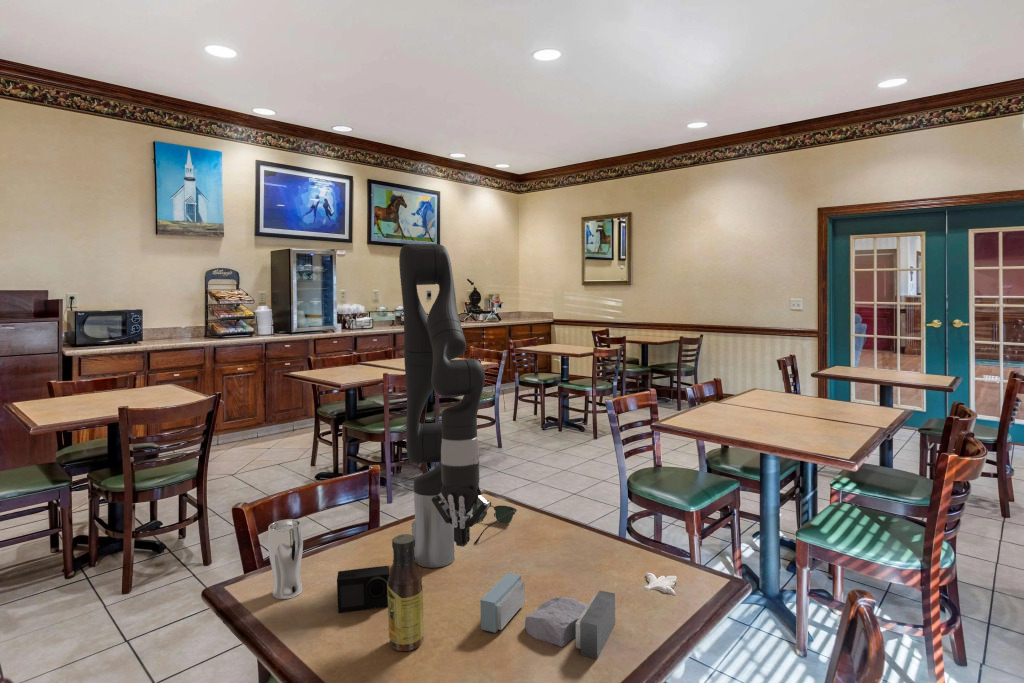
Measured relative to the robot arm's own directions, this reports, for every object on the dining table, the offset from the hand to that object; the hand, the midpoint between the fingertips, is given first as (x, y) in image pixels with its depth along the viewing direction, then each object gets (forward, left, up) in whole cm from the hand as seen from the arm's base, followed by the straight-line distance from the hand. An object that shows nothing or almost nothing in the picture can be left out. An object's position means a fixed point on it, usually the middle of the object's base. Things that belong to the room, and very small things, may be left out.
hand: (462, 544), depth 117 cm
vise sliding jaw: (+9, 0, -13) cm, 16 cm away
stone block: (+20, +1, -14) cm, 24 cm away
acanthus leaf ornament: (+34, +25, -14) cm, 45 cm away
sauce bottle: (-4, -15, -13) cm, 20 cm away
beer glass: (-39, -9, -13) cm, 42 cm away
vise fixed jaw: (+27, 0, -13) cm, 30 cm away
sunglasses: (-18, +38, -14) cm, 44 cm away
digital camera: (-19, -7, -14) cm, 25 cm away
